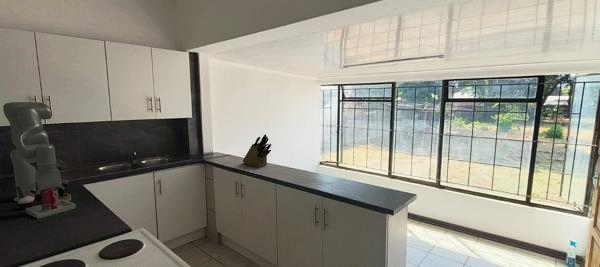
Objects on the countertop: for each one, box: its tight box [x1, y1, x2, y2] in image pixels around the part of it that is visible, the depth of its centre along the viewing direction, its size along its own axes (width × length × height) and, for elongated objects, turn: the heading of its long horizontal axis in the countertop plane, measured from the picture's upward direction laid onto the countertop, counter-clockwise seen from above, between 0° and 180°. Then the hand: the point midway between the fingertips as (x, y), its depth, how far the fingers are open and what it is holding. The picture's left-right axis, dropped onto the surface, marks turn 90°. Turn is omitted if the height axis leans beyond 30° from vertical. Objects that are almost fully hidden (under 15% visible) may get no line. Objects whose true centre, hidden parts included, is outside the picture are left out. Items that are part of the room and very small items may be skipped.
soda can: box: [39, 187, 59, 211], centre depth 146 cm, size 7×7×12 cm
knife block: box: [242, 134, 272, 168], centre depth 257 cm, size 11×35×31 cm, turn 43°
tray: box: [25, 200, 77, 220], centre depth 146 cm, size 16×16×2 cm
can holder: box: [58, 193, 72, 202], centre depth 160 cm, size 12×12×3 cm
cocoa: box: [15, 186, 35, 210], centre depth 150 cm, size 10×6×12 cm, turn 56°
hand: (50, 198), depth 146 cm, fingers open, 9 cm apart
